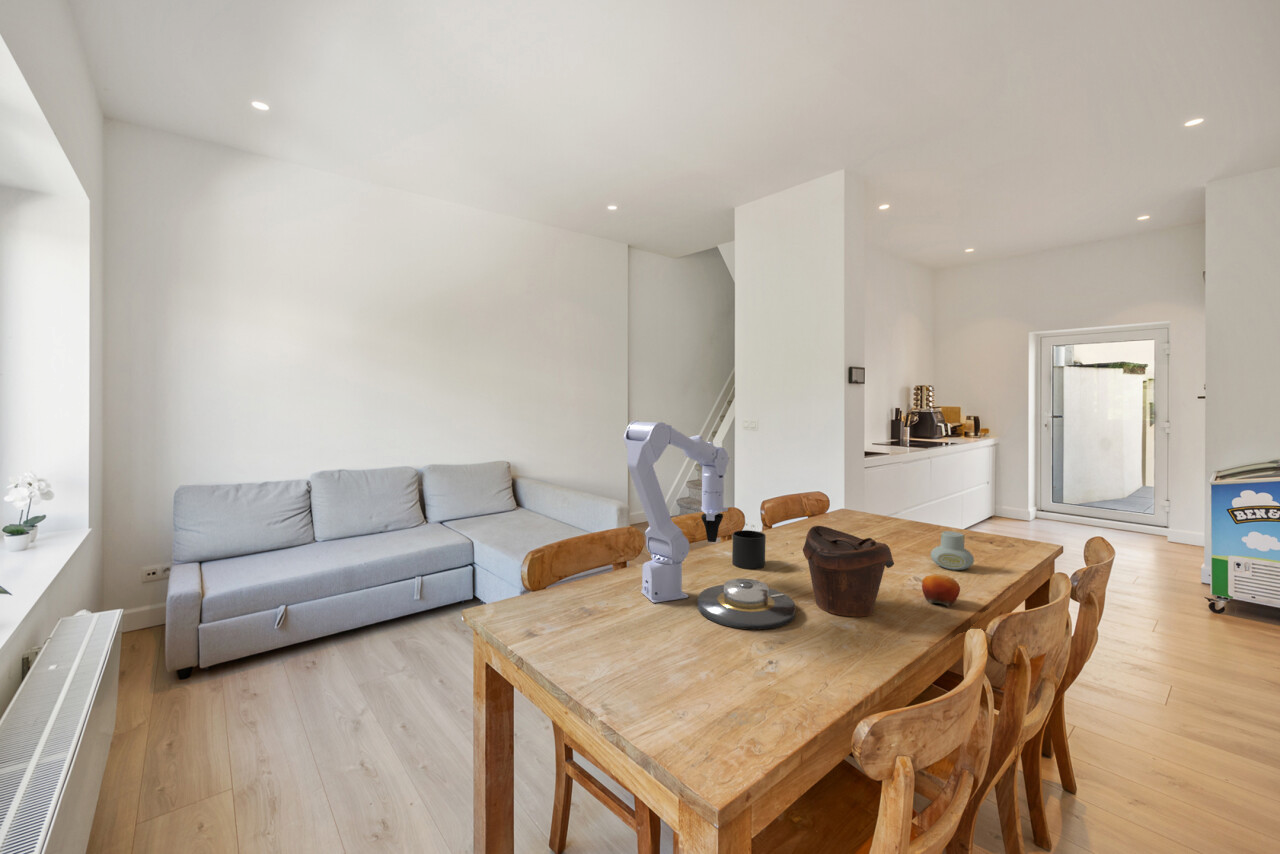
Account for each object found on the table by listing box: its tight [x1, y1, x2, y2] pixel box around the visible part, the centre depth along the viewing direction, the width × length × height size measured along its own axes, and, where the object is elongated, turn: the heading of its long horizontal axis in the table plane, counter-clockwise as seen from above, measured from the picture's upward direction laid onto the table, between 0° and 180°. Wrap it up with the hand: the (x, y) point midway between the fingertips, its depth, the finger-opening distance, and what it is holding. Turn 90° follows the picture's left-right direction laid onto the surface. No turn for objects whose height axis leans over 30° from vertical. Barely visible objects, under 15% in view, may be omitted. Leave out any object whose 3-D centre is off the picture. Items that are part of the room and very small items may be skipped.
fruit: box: [921, 573, 961, 609], centre depth 130 cm, size 8×8×8 cm
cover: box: [723, 578, 769, 610], centre depth 124 cm, size 10×10×4 cm
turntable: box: [697, 584, 796, 630], centre depth 125 cm, size 22×22×2 cm
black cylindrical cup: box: [731, 529, 767, 570], centre depth 159 cm, size 9×12×9 cm
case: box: [802, 525, 895, 618], centre depth 126 cm, size 18×20×18 cm
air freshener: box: [930, 530, 975, 571], centre depth 157 cm, size 11×8×10 cm
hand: (712, 541), depth 145 cm, fingers closed
